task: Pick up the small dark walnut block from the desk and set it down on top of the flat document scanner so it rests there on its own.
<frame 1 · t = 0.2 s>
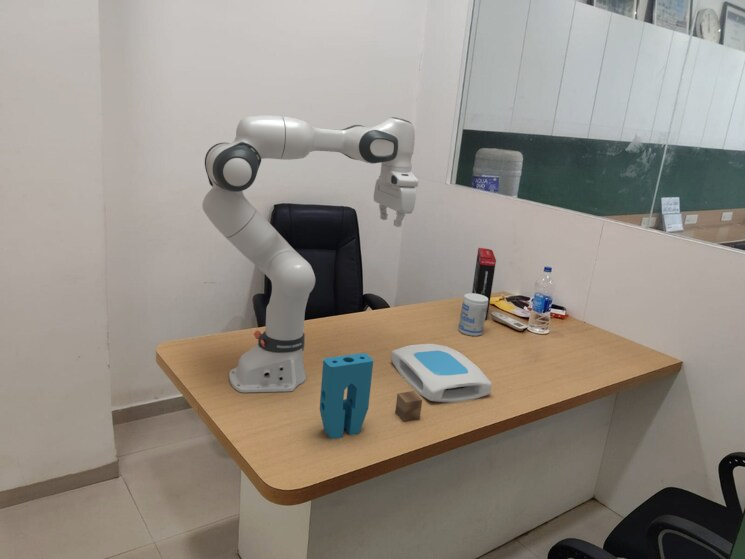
hand: (390, 222, 163), 48 cm above the table, tool pointing down, fingers open, 8 cm apart
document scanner: (437, 380, 172), on the table
block: (342, 431, 139), on the table
graphics card box: (477, 313, 236), on the table
supplement tub: (470, 332, 214), on the table
walnut block: (407, 416, 149), on the table
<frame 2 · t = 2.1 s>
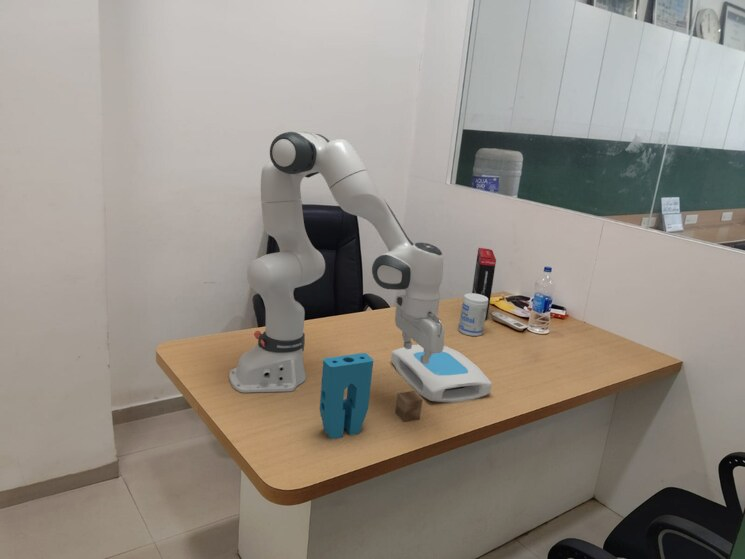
hand: (415, 355, 144), 18 cm above the table, tool pointing down, fingers open, 8 cm apart
nothing on the table moved.
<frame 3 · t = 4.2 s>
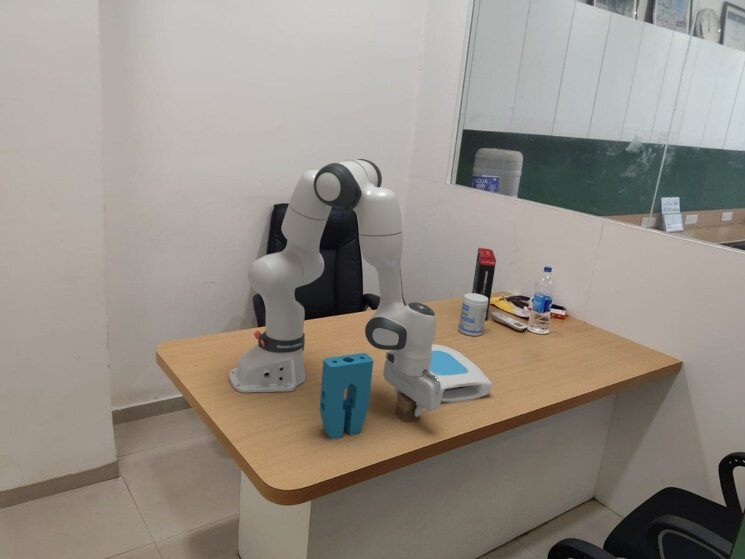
hand: (408, 409, 149), 2 cm above the table, tool pointing down, fingers closed on walnut block, 5 cm apart
walnut block: (407, 415, 149), on the table, touching gripper
everything else where it was.
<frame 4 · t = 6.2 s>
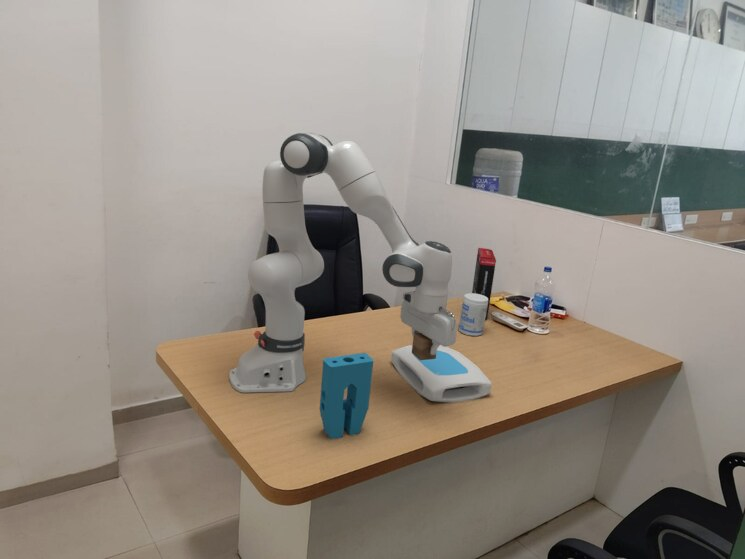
hand: (424, 348, 151), 17 cm above the table, tool pointing down, fingers closed on walnut block, 5 cm apart
walnut block: (423, 355, 152), point 15 cm above the table, touching gripper
everything else where it was.
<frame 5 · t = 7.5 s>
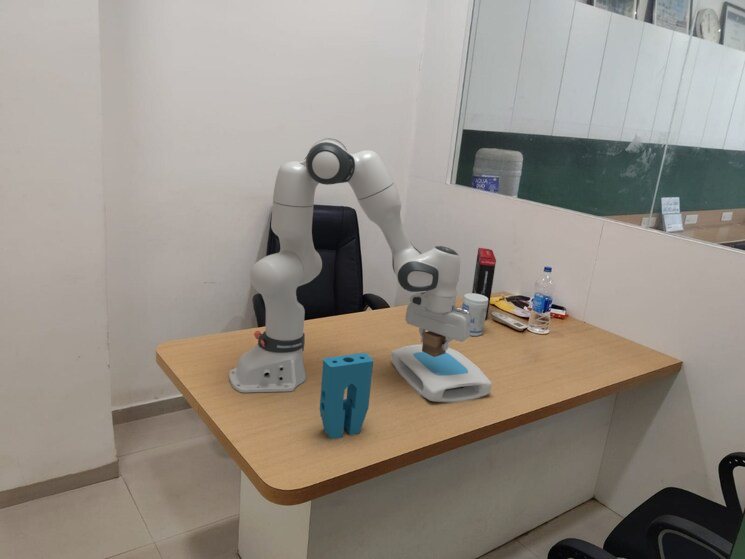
hand: (434, 345, 162), 14 cm above the table, tool pointing down, fingers closed on walnut block, 5 cm apart
walnut block: (433, 352, 163), point 12 cm above the table, touching gripper
everything else where it was.
when the fingers open (10 cm above the table, at t = 8.6 s): walnut block drops 2 cm, point 6 cm above the table.
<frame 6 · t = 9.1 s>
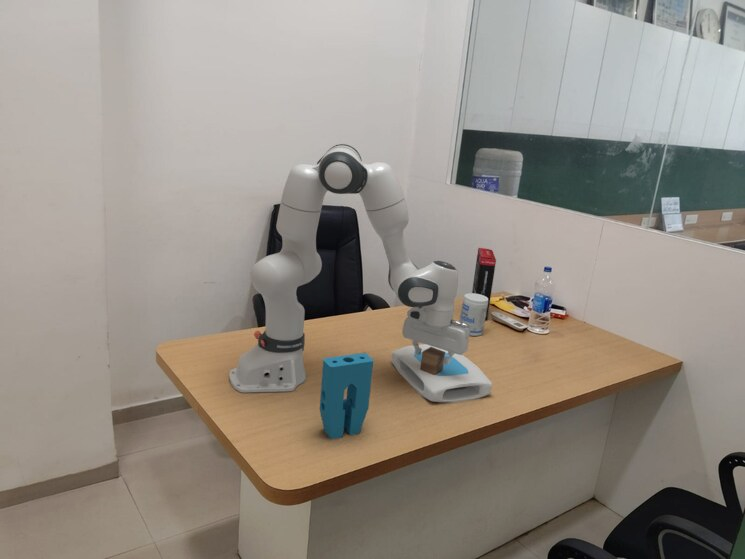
hand: (431, 358, 163), 10 cm above the table, tool pointing down, fingers open, 8 cm apart
walnut block: (431, 369, 165), point 6 cm above the table
everything else where it was.
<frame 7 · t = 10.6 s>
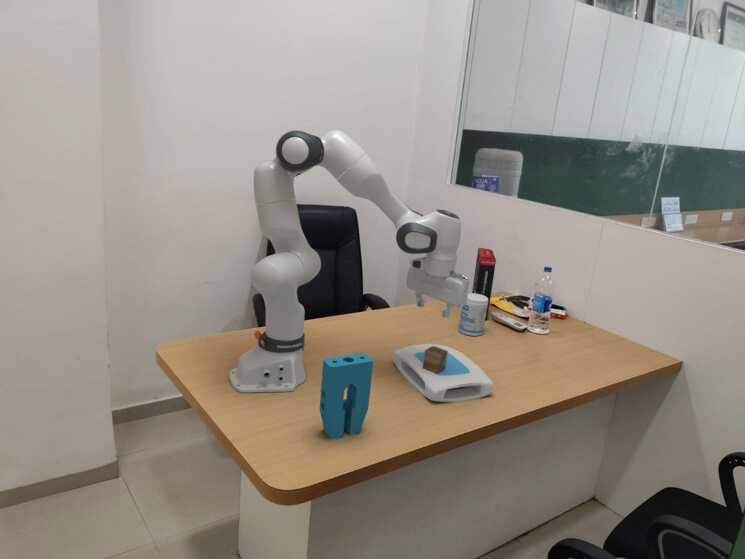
hand: (432, 311, 161), 24 cm above the table, tool pointing down, fingers open, 8 cm apart
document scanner: (439, 380, 173), on the table, touching walnut block
walnut block: (433, 368, 166), point 6 cm above the table, touching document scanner
everything else where it was.
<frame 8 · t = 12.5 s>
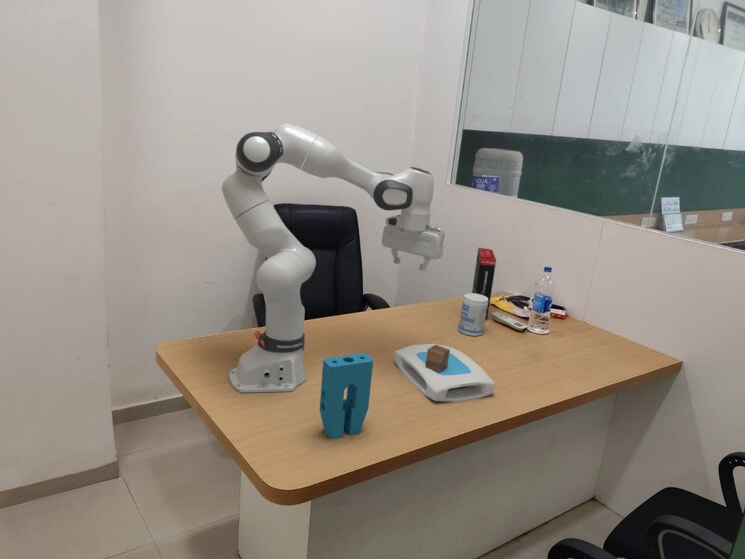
hand: (409, 266, 168), 34 cm above the table, tool pointing down, fingers open, 8 cm apart
walnut block: (436, 367, 167), point 6 cm above the table, touching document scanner
everything else where it was.
at the end: walnut block inside the target area (4.0 cm from its centre), point 5.8 cm above the table; walnut block tilted 0°; walnut block touching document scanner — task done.
